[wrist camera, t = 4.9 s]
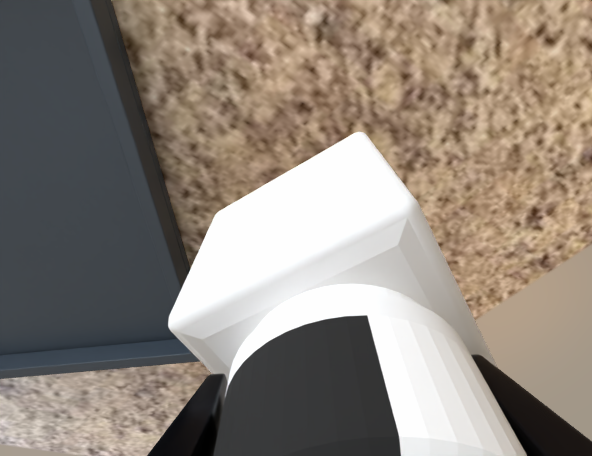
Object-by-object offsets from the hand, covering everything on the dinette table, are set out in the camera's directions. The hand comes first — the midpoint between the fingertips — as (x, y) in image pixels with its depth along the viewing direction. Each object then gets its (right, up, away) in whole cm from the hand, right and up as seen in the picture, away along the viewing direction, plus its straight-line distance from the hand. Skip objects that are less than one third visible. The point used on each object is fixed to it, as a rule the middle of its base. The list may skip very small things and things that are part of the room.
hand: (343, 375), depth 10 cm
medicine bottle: (0, +4, +7) cm, 8 cm away
